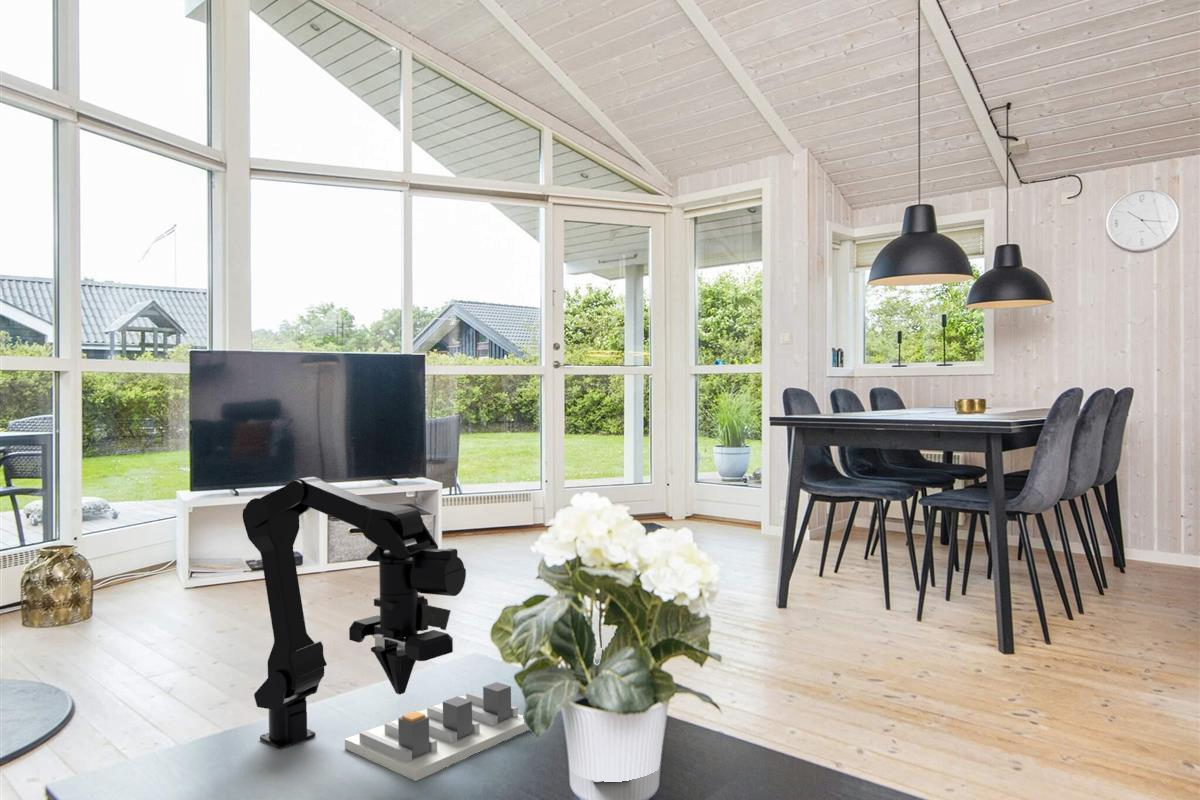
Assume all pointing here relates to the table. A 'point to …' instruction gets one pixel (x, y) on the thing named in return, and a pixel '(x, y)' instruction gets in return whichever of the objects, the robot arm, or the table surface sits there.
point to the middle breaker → (458, 716)
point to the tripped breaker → (414, 732)
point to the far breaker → (497, 700)
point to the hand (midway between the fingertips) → (400, 693)
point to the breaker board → (435, 740)
